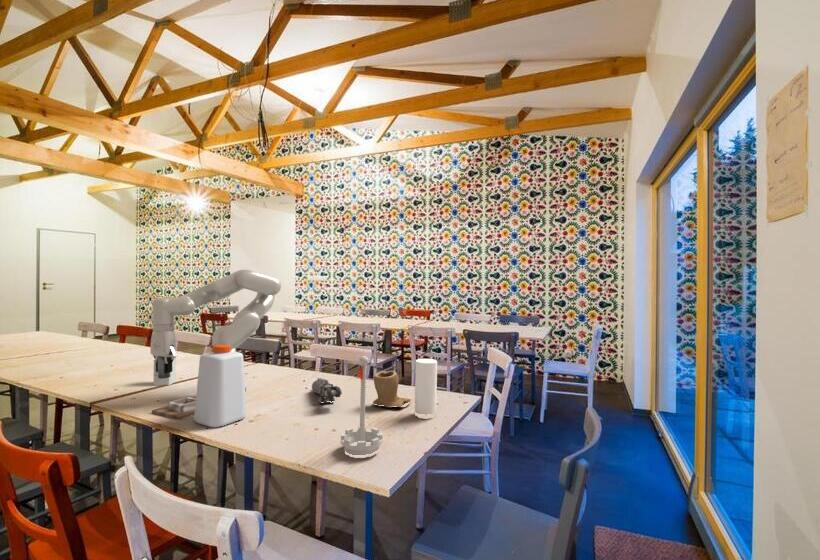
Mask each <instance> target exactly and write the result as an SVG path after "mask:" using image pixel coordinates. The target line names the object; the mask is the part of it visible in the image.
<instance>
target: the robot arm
mask: <svg viewBox="0 0 820 560" xmlns="http://www.w3.org/2000/svg"><path fill="white" fill-rule="evenodd" d="M244 289H246V290H248V291H252V292H255V293H256V296H255V298H253V300H252V301H251V302H249V303H248V304H247V305H246V306H244V307H243V308H242V309H241V310H239V311H238V312H237V313H236V314H235V315H234V317H233V322H231V323H230V324H229V325H221V326H219V327H217V328H216V329H215V330H214V332H213V334H212V348H213V347H214V346H215V345H223V344H226V345H230V346H231V351H235V352H237V348H238V347H240V346H241V344H243V343H244V342H245V341H246V340H248V338H250V337H251V336H252V335H253V334H255V332H256V331H257V330H258V329H259V327H260V325H261V318H263V316H265V315H266V314H267V313H268V312H269V310H270V309H272V307H273V305H274V301H275V295H277V294H278V293H280V291H281V289H282V284H281V281H280V280H279V279H277V278H276V277H274V276H270V275H267V274H262V273H259V272H257V271H254V270H250V269H240V270H237V271H234V272H232V273H230V274H228V275H226V276H223V277H222V278H218V279H216V280H214V281H213V282H210V283H207V284H206V285H204V286H201V287H199V288H197V289H194V290H192V291H189V292H188V293H185V294H183V295H181V296H179V297H177V298H170V297H165V298H164V297H160V298H155V299H154V300H153V301H152V334H151V337H150V355H152V356H153V359H154V360H155V362H156V372H158V356H161V357H164V358H165V364H164V373H169V372H172V362H173V360H174V358H176V359H177V357H178V355H177V343H176V342H177V341H176V332H175V316H188V315H191V314H192V313H194V312H195V310H196V309H198V308H199V307H201V306H203V305H206V304H209V303H212V302H218V301H220V300H223V299H226V298H228V297H229V296H232V295H234V294H235V293H238V292H240V291H242V290H244ZM169 354H170V355H169ZM167 355H168V356H167ZM168 357H169V358H168ZM245 392H247V387H246V386H245Z"/></svg>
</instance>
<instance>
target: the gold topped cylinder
mask: <svg viewBox="0 0 820 560" xmlns="http://www.w3.org/2000/svg"><path fill="white" fill-rule="evenodd" d="M169 355H170V354H169ZM167 356H168V355H167ZM168 358H169V357H168ZM164 364H165V358H164V357H161V356H158V378H159V379H164V378H169V377H170V372H169V373H164Z"/></svg>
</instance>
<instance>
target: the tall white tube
mask: <svg viewBox="0 0 820 560" xmlns="http://www.w3.org/2000/svg"><path fill="white" fill-rule="evenodd" d="M429 329H430V330H431V332H432V333H433V335H434V336H435V334H436V333H435V331H434V329H433V328H431V325H430V326H429ZM432 350H433V348H429V349H427V350H426V351H425V352H423V353H421V354H420V357H424V356H426V354H428V353H429V352H431V351H432ZM414 374H415V378H414V379H415V381H414V382H415V383H414V384H415V385H414V386H415V387H414V413H415V412H416V413H418V414H425V415H427V414H433V413H435V412H436V413H437V389H438V388H437V385H438V361H437V360H436V359H434V358H433V359H432V358H418V359H416V360H415V373H414Z"/></svg>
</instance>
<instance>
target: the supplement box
mask: <svg viewBox="0 0 820 560" xmlns="http://www.w3.org/2000/svg"><path fill="white" fill-rule="evenodd" d="M176 368H177V357H176V358H174V360H173V362H172V372H170V377H169V378H164V379H159V378H158V372H156V362H155V359H154V360H153V385H152V386H157V387H159V386H158V385H163V386H164V385H166V386H167V385H168V386H170V385H172V384H174V383H176V381H177V380H176V375H177V373H176V372H177V369H176Z"/></svg>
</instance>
